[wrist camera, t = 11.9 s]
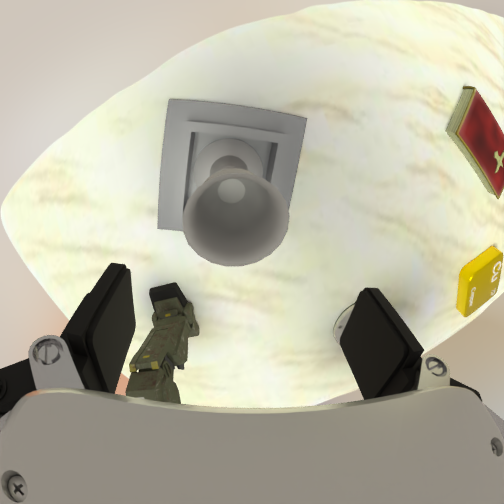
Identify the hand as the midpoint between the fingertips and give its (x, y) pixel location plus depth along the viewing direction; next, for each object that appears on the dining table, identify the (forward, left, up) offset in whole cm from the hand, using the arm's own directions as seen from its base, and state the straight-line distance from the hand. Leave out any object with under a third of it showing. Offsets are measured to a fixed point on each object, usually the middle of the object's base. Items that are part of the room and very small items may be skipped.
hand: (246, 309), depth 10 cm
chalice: (0, 0, -27) cm, 27 cm away
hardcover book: (-46, -18, -29) cm, 57 cm away
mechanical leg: (+6, +25, -29) cm, 38 cm away
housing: (0, 0, -28) cm, 28 cm away
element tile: (-64, +12, -29) cm, 71 cm away
